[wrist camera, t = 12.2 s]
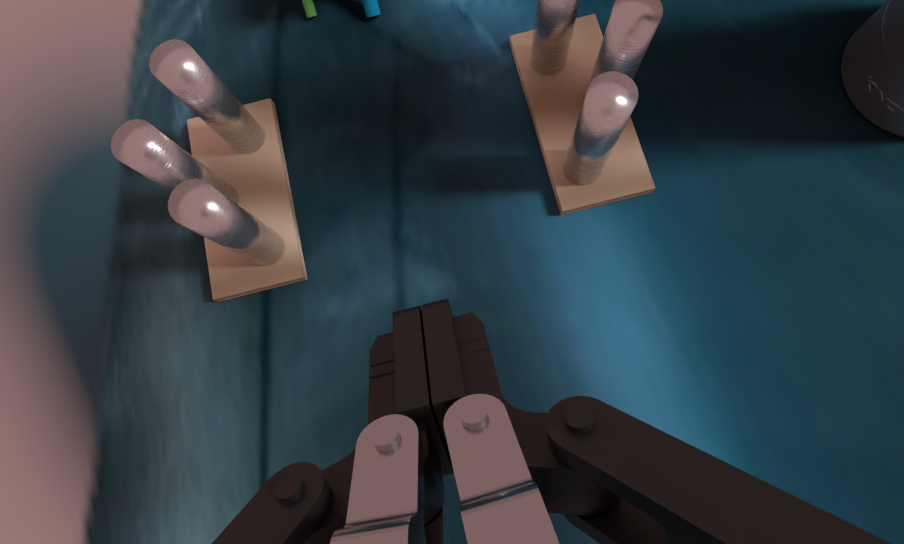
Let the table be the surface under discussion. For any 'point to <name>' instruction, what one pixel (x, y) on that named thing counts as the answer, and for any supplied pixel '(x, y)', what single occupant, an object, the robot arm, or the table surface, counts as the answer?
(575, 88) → the rack
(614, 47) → the spacers
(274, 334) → the table surface
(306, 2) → the gear
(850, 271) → the table surface
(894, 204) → the table surface
